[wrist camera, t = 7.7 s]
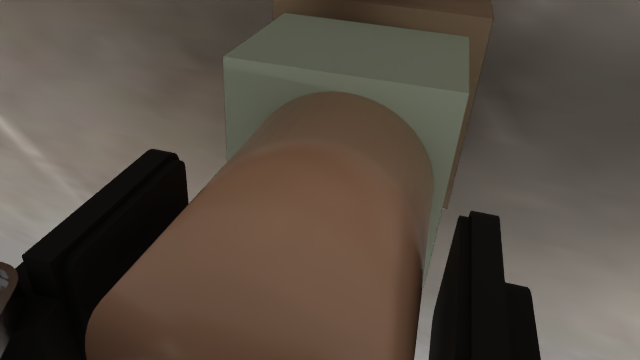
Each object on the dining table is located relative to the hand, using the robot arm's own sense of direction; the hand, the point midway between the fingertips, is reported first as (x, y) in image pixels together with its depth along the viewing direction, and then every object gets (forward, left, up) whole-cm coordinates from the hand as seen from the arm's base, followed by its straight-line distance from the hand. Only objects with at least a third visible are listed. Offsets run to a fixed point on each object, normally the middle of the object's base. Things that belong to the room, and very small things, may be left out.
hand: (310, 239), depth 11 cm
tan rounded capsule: (0, 0, -3) cm, 3 cm away
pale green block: (0, 0, -8) cm, 8 cm away
